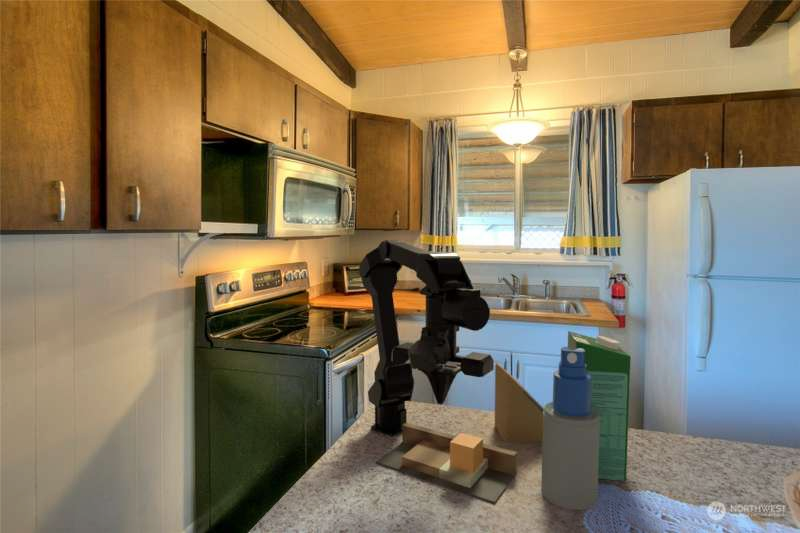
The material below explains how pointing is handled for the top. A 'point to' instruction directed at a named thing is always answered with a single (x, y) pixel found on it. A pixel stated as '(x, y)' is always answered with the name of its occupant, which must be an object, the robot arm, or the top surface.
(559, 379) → the spray bottle
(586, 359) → the milk carton
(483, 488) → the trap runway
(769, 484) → the top surface
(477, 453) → the block
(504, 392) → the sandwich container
